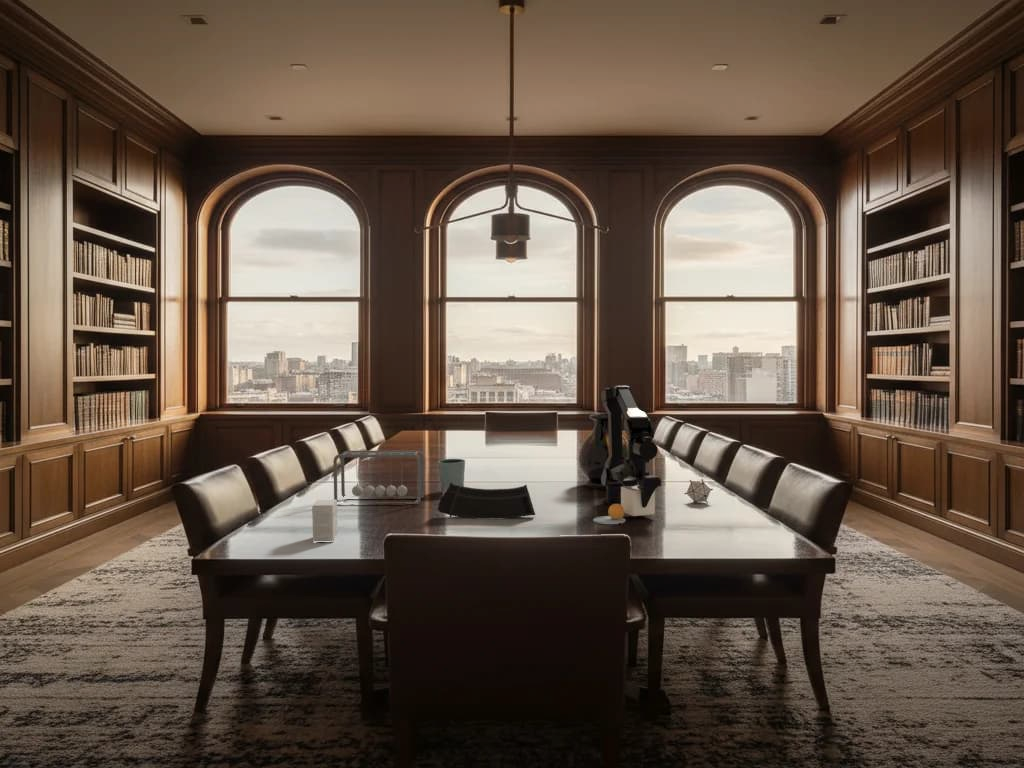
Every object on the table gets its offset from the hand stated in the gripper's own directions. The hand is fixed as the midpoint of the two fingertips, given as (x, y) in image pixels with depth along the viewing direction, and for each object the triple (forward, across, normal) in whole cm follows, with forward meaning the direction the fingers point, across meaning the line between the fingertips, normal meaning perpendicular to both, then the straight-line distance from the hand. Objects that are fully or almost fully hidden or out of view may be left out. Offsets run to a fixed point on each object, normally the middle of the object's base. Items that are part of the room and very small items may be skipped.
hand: (637, 504), depth 219 cm
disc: (+4, 0, -10) cm, 11 cm away
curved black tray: (+4, -19, -44) cm, 48 cm away
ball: (+2, 0, -8) cm, 8 cm away
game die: (+4, -11, +31) cm, 33 cm away
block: (+2, 0, 0) cm, 2 cm away
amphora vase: (+4, -51, +17) cm, 54 cm away
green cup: (+4, -63, -42) cm, 76 cm away
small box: (+4, -11, -94) cm, 95 cm away
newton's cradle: (+4, -56, -70) cm, 90 cm away
